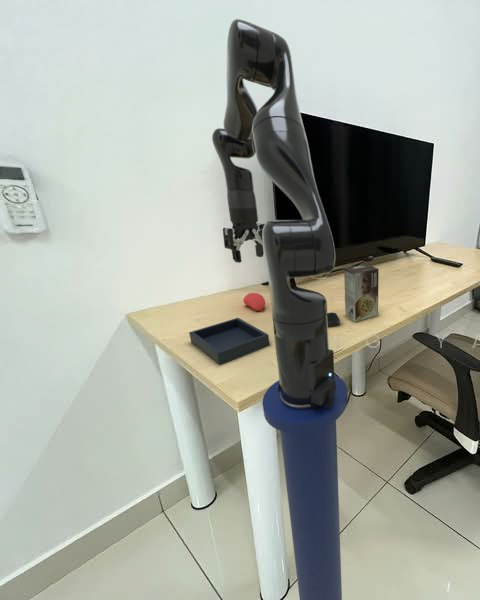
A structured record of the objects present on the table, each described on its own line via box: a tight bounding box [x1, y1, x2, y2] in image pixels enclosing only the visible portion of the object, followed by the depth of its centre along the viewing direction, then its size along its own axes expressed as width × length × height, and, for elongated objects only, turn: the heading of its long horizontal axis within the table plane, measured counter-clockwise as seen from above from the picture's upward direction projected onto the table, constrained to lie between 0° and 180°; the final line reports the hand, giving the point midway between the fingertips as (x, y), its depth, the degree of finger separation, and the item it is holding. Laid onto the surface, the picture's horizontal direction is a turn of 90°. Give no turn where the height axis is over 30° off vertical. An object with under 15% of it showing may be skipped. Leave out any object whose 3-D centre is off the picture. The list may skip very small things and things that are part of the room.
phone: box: [327, 312, 341, 328], centre depth 94 cm, size 8×1×15 cm
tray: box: [188, 317, 271, 366], centre depth 80 cm, size 16×13×3 cm
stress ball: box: [242, 292, 266, 312], centre depth 103 cm, size 5×9×6 cm, turn 41°
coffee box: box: [343, 264, 380, 323], centre depth 99 cm, size 9×6×16 cm
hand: (249, 259), depth 98 cm, fingers open, 8 cm apart
